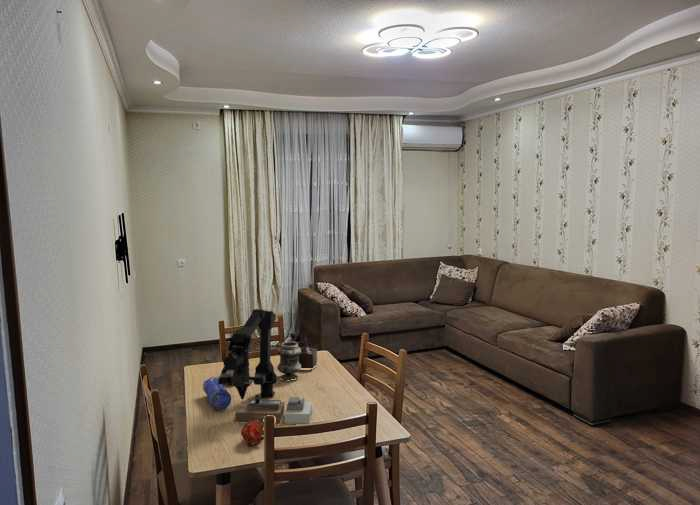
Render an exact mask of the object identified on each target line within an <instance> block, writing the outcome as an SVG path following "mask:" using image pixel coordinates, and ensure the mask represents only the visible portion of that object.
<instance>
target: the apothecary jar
mask: <svg viewBox="0 0 700 505" xmlns="http://www.w3.org/2000/svg"><path fill="white" fill-rule="evenodd" d="M296 342H297V341H295V342H293V341H284V342H282V343H281V344H280V347H279V348H278V349H277V354H278V355H279V357H280V358H279V359H280V360H279V363H278V365H277V370H278V372H280V373H281V374H282V375H280V376H279V379H280V378H281V379H283V380H291V379H295V378H297V377H298V376H299V375H298V374H297V373H298V372H300V371H301V370H300V369H301V364H300V363H299V354H300V353H301V349H300V348H301V347H299V343H296ZM297 375H298V376H297ZM281 379H280V380H281ZM283 380H282V381H283Z"/></svg>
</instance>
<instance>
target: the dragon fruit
mask: <svg viewBox="0 0 700 505" xmlns="http://www.w3.org/2000/svg"><path fill="white" fill-rule="evenodd" d="M264 424H265V423H261V422H259V421H258V420H254V421H249V423H245V424H244V425H243V426H242V429H241V432H240V436H241V437H242V439H243V441H244V442H245V443H246V446H248V447H250V446H253V445H256V444H257V443H258V442H259V443H260V442H262V441H264V439H265V438H264V437H265V436H264V435H265V434H264V432H265V430H264V427H265V425H264Z"/></svg>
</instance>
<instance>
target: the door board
mask: <svg viewBox="0 0 700 505" xmlns="http://www.w3.org/2000/svg"><path fill="white" fill-rule="evenodd" d="M251 401H255V399H249V401H241V404H240V405H239V406H238V408H237V410H236V411H235V413H234V414H235V419H234V420H235V423H236V422H249V421H254V420H258V421H259V422H261V423H262V422H263V419H264V416H267V415H274V416H275V417H276V423H275V424H280V423H281V421H282V418H283V416H284V414H285V402H284V401H281V399H261V401H280V407H279V404H252V403H251ZM262 424H263V423H262Z"/></svg>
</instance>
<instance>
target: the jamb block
mask: <svg viewBox="0 0 700 505" xmlns="http://www.w3.org/2000/svg"><path fill="white" fill-rule="evenodd" d="M312 413H313V402H310V401H309V402H306V401H305V398H304V397H302V398H301V399H300V397H299V396H289V399H288V402H287V404H286V408H285V410H284V413H283V416H284V424H307V423H309V424H310V422H311V418H312V415H313V414H312ZM311 414H312V415H311Z"/></svg>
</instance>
